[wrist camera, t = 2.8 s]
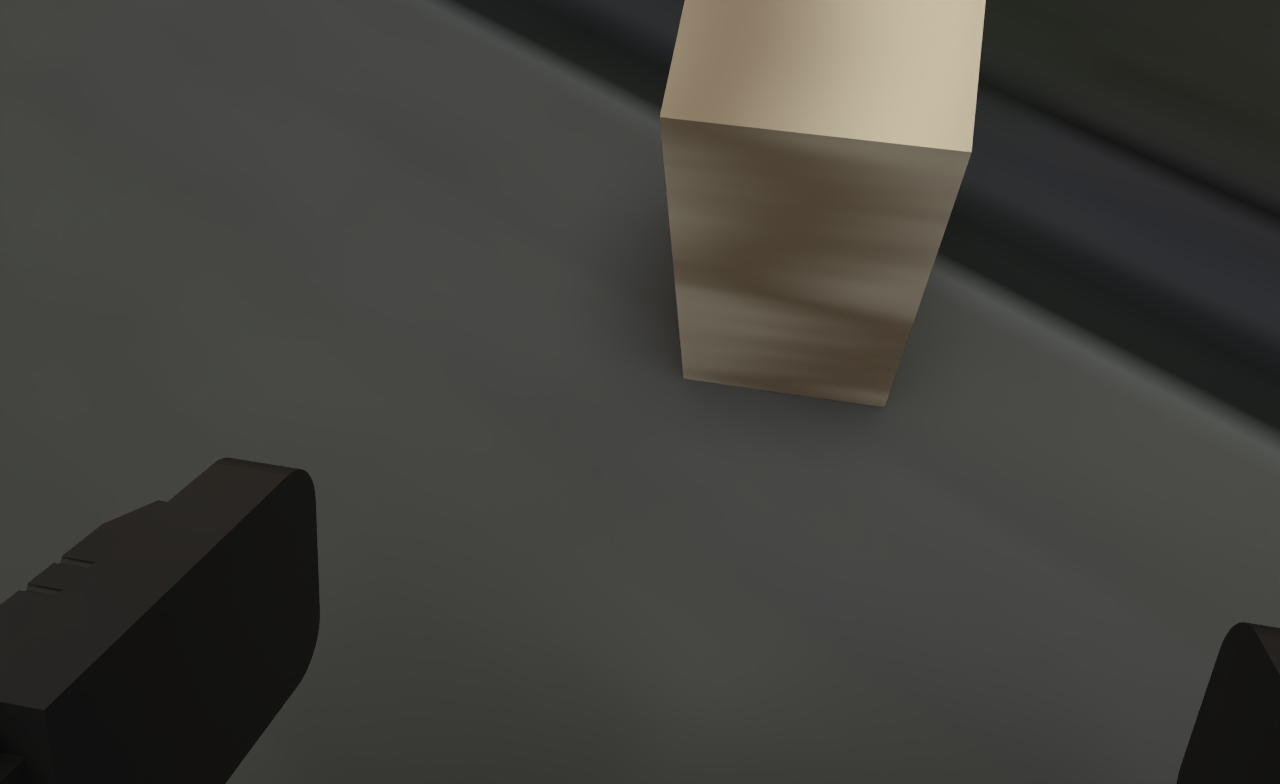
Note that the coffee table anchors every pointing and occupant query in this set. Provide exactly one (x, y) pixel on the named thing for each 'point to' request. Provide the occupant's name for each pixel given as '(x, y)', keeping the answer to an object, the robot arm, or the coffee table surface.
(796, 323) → the birch block
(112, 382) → the coffee table surface
